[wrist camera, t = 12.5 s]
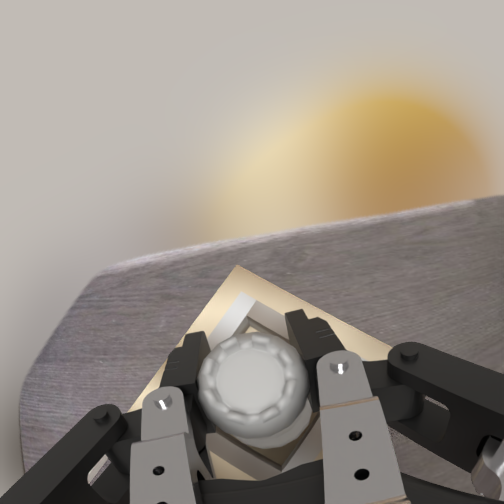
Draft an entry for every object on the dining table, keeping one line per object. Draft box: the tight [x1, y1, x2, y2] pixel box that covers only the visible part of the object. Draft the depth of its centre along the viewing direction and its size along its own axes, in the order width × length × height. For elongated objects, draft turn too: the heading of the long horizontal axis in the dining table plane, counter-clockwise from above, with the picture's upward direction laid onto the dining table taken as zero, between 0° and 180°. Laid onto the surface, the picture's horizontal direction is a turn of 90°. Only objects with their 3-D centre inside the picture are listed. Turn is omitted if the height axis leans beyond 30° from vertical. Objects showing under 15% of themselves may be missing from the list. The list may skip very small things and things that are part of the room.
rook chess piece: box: [197, 332, 312, 449], centre depth 11 cm, size 4×4×8 cm
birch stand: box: [128, 265, 393, 481], centre depth 18 cm, size 12×12×10 cm
